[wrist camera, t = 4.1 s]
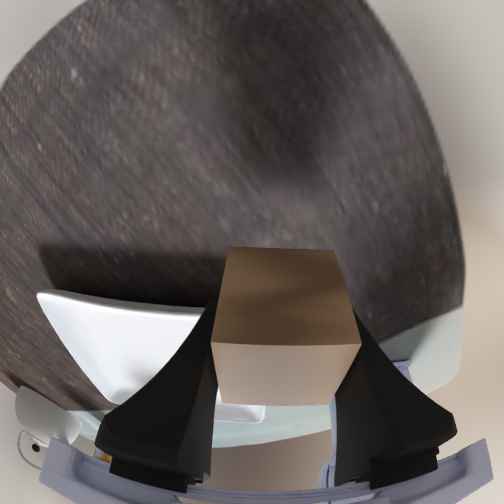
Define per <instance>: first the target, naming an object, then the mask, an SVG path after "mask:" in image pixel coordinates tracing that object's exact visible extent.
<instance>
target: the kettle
mask: <svg viewBox="0 0 504 504" xmlns="http://www.w3.org/2000/svg"><path fill="white" fill-rule="evenodd" d="M15 410H16V415H17V418H18V421H19V423H20V425H21V427H22V428H23V431H22V432H21V433H20V434H19V437H18V443H17V445H18V450H19V453H20V455H21V457H22V458H23V459H24V460H25V461H26V462H27V463H28V464H30V465H31V466H33V467H34V468H36V469H39V470H41V469H42V468H40V467H37V466H35V465H33V464H31V463H30V462H29V461H27V460H26V459H25V457H24V456H23V454H22V453H21V450H20V439H21V436H22V435H23V433H26V434H27V435H28V436H29V437H30V438H31V439H32V440H33V441H35V442H36V443H35V444H33V445H32V449H33V450H34V451H35V452H39V451H40V448H39V444H40V445H42V446H44V447H48V446H49V442H50V439H51V437H54V438H56V439H58V440H60V441H62V442H64V443H66V444H68V445H70V444H71V443H72V442H73V441H74V440H75V439H76V438H77V436H78V434H79V432H80V429H81V426H82V423H81V422H80V421H79V420H78V419H77V418H75V417H74V416H73V415H71V414H70V413H68V412H67V411H65V410H64V409H62V408H61V407H59V406H58V405H56V404H55V403H53V402H51V401H50V400H48V399H47V398H45V397H43V396H42V395H40V394H38V393H36V392H35V391H33V390H31V389H29V388H27V387H25V386H20V388H19V390H18V393H17V396H16V401H15ZM70 446H71V445H70Z"/></svg>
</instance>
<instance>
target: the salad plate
mask: <svg viewBox="0 0 504 504" xmlns="http://www.w3.org/2000/svg"><path fill="white" fill-rule="evenodd" d="M37 299H38V301H39V303H40V305H41V307H42V309H43V311H44V313H45V314H46V316H47V318H48V319H49V321H50V323H51V324H52V326H53V328H54V329H55V331H56V333H57V334H58V336H59V337H60V339H61V340H62V342H63V343H64V345H65V346H66V348H67V349H68V351H69V352H70V354H71V355H72V356H73V358H74V359H75V361H76V362H77V363H78V365H79V366H80V367H81V369H82V370H83V371H84V373H85V374H86V375H87V376H88V377H89V379H90V380H91V381H92V382H93V384H94V385H95V386H96V387H97V388H98V389H99V391H100V392H101V393H102V394H103V395H104V396H105V397H106V399H107V400H109V401H110V402H113V403H116V404H120V405H121V404H122V403H124V402H125V401H126V400H128V399H129V398H130V397H131V396H132V395H134V394H135V393H136V392H137V391H138V390H140V389H141V388H142V387H143V386H144V385H145V384H147V383H148V382H149V381H150V380H151V379H152V378H153V377H154V376H155V375H156V374H157V373H158V372H159V371H160V370H161V369H162V368H163V366H164V365H165V364H166V363H167V362H168V361H169V360H170V358H171V357H172V356H173V355H174V354H175V352H176V351H177V350H178V348H179V347H180V346H181V344H182V343H183V342H184V340H185V339H186V338H187V336H188V335H189V333H190V332H191V330H192V329H193V327H194V326H195V324H196V323H197V321H198V319H199V318H200V316H201V314H202V313H203V311H204V309H205V308H200V307H182V306H169V305H158V304H149V303H140V302H131V301H122V300H115V299H108V298H102V297H96V296H90V295H85V294H80V293H74V292H69V291H63V290H55V289H48V290H41V291H39V292H38V293H37ZM265 410H266V406H262V405H239V404H225V403H222V400H221V395H220V390H219V387H218V392H217V397H216V404H215V414H214V421H223V422H241V423H260V422H262V421H263V419H264V416H265Z"/></svg>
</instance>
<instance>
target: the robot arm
mask: <svg viewBox="0 0 504 504" xmlns="http://www.w3.org/2000/svg"><path fill="white" fill-rule="evenodd" d="M218 300H219V298H211V299H210V300H209V301H208V303H207V305H206V307H205V309H204V311H203V313H202V314H201V316H200V318H199V319H198V321H197V323H196V324H195V326H194V327H193V329H192V330H191V332H190V333H189V335H188V336H187V338H186V339H185V340H184V342H183V343H182V344H181V346H180V347H179V348H178V350H177V351H176V352H175V354H174V355H173V356H172V357H171V358H170V360H169V361H168V362H167V363H166V364H165V365H164V366H163V368H162V369H161V370H160V371H159V372H158V373H157V374H156V375H155V376H154V377H153V378H152V379H151V380H150V381H149V382H148V383H147V384H145V385H144V386H143V387H142V388H141V389H140V390H138V391H137V392H136V393H135V394H134V395H132V396H131V397H130V398H129V399H128V400H126V401H125V402H124V403H122V404H121V405H119V406H118V407H116V408H115V409H114V410H112V411H111V412H109V413H108V414H106V415H105V416H104V418H103V420H102V422H101V424H100V427H99V430H98V433H97V436H96V440H95V443H94V444H95V446H96V447H97V448H98V449H100V450H101V451H103V452H105V453H106V454H108V455H110V456H111V457H112V461H111V464H110V463H107V462H104V461H102V460H99V459H97V458H94V457H92V456H89V455H87V454H84V453H83V452H81V451H80V450H78V449H76V448H74V447H73V446H70V445H68V444H66V443H64V442H62V441H60V440H58V439H56V438H54V437H51V439H50V442H49V446H48V449H47V452H46V455H45V459H44V462H43V466H42V469H41V473H40V477H39V481H40V482H41V483H43V484H44V485H46V486H47V487H49V488H51V489H52V490H54V491H56V492H57V493H59V494H61V495H62V496H64V497H66V498H68V499H69V500H71V501H73V502H75V503H76V504H189V503H183V502H181V501H179V499H178V497H176V496H179V497H184V498H190V499H196V500H203V501H210V502H218V503H229V504H311V503H320V504H455V503H457V502H458V501H460V500H462V499H463V498H465V497H466V496H468V495H469V494H471V493H473V492H474V491H476V490H477V489H479V488H480V487H482V486H484V485H485V484H487V483H488V482H490V481H491V480H492V479H493V474H492V467H491V462H490V457H489V452H488V448H487V444H486V439H485V438H484V439H481V440H480V441H478V442H476V443H474V444H471V445H469V446H468V447H466V448H464V449H462V450H460V451H459V452H458V453H456V454H453V455H451V456H449V457H446V458H444V459H441V460H439V461H437V459H436V455H437V454H439V448H438V446H440V445H442V444H443V443H445V442H446V441H448V440H450V439H451V438H453V437H454V436H455V435H456V434H457V428H456V424H455V420H454V417H453V414H452V413H450V412H449V411H447V410H446V409H444V408H443V407H441V406H440V405H438V404H437V403H435V402H434V401H433V400H431V399H430V398H429V397H427V396H426V395H425V394H424V393H423V392H421V391H420V390H419V389H418V388H417V387H416V386H415V385H414V384H413V383H412V379H411V376H410V373H409V370H408V367H409V366H410V361H401V362H393V363H392V362H391V361H390V359H389V358H388V357H387V356H386V355H385V353H384V352H383V351H382V350H381V348H380V347H379V346H378V344H377V343H376V342H375V340H374V339H373V337H372V336H371V335H370V333H369V332H368V330H367V329H366V328H365V326H364V325H363V323H362V322H361V320H360V319H359V317H358V316H357V314H356V313H355V311H354V310H353V308H352V310H353V313H354V317H355V320H356V324H357V327H358V331H359V335H360V338H361V342H362V345H361V347H360V349H359V351H358V352H357V354H356V356H355V358H354V360H353V362H352V364H351V366H350V368H349V370H348V371H347V373H346V375H345V377H344V379H343V380H342V382H341V384H340V386H339V387H338V389H337V391H336V392H335V394H334V396H333V397H332V399H331V401H330V402H329V408H330V418H331V428H332V439H333V450H334V455H333V456H330V457H329V462H327V463H326V464H325V465H324V466H323V468H322V469H321V470H320V472H319V476H318V486H317V487H318V489H311V490H297V491H246V490H230V489H219V488H212V487H204V486H197V485H195V484H196V483H201V484H202V483H203V481H205V480H207V479H208V478H210V468H211V449H212V436H213V425H214V414H215V404H216V397H217V392H218V387H219V385H218V380H217V375H216V370H215V364H214V359H213V353H212V347H211V337H212V332H213V326H214V321H215V316H216V310H217V305H218Z"/></svg>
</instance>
